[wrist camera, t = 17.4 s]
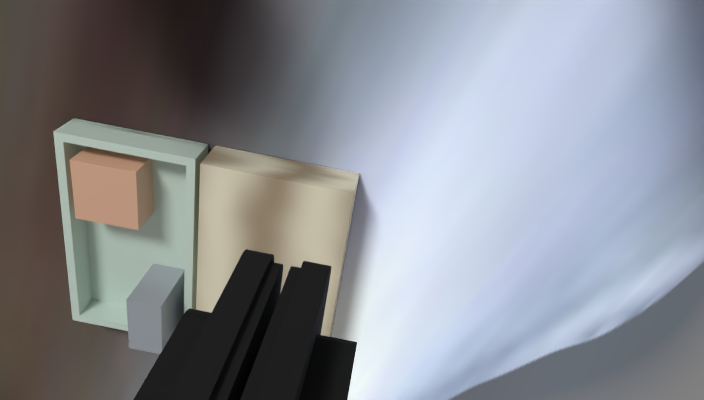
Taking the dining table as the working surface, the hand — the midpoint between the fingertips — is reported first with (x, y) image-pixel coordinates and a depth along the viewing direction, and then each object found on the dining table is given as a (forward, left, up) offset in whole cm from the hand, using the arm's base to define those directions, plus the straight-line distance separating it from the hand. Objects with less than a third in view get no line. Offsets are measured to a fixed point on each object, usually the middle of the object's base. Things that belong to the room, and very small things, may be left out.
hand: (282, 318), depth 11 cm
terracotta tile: (+17, +14, -24) cm, 32 cm away
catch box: (+15, +18, -27) cm, 36 cm away
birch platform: (+5, +18, -27) cm, 33 cm away
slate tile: (+12, +23, -24) cm, 35 cm away
